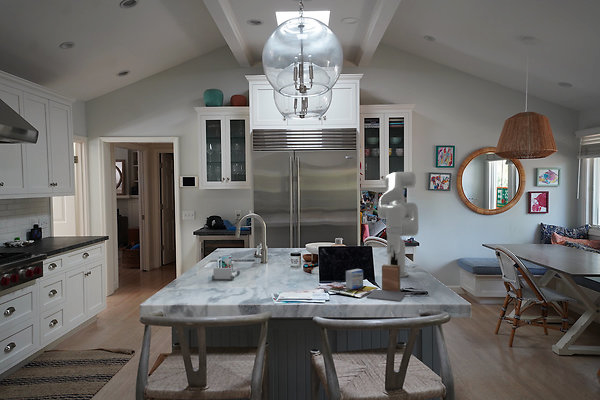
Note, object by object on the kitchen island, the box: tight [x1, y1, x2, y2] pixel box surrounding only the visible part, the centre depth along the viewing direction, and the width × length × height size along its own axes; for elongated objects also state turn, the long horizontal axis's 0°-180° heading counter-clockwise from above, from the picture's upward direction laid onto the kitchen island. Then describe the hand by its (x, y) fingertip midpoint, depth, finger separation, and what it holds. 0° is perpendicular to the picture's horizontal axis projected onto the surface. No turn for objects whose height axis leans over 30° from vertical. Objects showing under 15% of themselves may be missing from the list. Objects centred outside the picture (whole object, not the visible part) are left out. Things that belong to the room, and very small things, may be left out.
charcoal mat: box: [366, 288, 407, 303], centre depth 183 cm, size 14×15×1 cm
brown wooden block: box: [381, 263, 401, 292], centre depth 191 cm, size 4×8×12 cm, turn 65°
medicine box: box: [345, 268, 364, 290], centre depth 198 cm, size 8×4×9 cm, turn 126°
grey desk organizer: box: [211, 258, 241, 282], centre depth 225 cm, size 18×10×12 cm
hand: (394, 267), depth 198 cm, fingers closed
